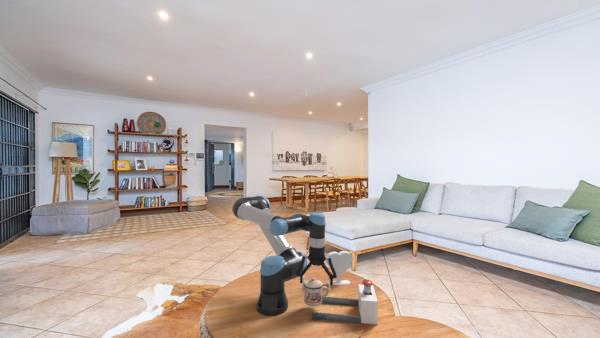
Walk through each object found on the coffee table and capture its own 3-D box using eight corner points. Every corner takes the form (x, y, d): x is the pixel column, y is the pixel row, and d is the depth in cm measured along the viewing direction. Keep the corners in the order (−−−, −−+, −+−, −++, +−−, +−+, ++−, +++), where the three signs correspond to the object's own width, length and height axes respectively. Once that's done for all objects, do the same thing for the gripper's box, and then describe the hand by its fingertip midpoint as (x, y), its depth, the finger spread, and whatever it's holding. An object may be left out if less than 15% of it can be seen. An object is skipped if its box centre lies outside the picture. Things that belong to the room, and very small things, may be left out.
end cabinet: (360, 323, 117) (361, 300, 117) (358, 304, 133) (358, 284, 133) (377, 324, 116) (377, 301, 116) (372, 305, 132) (373, 285, 132)
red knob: (362, 298, 123) (363, 283, 123) (362, 294, 127) (362, 279, 127) (372, 299, 122) (372, 284, 122) (371, 294, 126) (371, 279, 126)
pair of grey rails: (311, 319, 120) (311, 313, 120) (315, 300, 136) (315, 296, 136) (360, 323, 117) (361, 317, 117) (358, 304, 133) (358, 299, 133)
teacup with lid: (304, 307, 123) (304, 282, 123) (302, 297, 132) (303, 274, 132) (330, 306, 124) (330, 281, 124) (327, 297, 133) (327, 273, 133)
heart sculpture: (349, 279, 162) (350, 250, 162) (353, 283, 157) (353, 252, 157) (325, 281, 159) (325, 251, 159) (327, 285, 154) (327, 254, 154)
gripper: (290, 246, 126) (290, 292, 126) (342, 249, 122) (341, 296, 123) (293, 242, 133) (292, 285, 134) (342, 244, 130) (341, 289, 130)
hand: (316, 290), depth 128 cm, fingers closed on teacup with lid, 12 cm apart
